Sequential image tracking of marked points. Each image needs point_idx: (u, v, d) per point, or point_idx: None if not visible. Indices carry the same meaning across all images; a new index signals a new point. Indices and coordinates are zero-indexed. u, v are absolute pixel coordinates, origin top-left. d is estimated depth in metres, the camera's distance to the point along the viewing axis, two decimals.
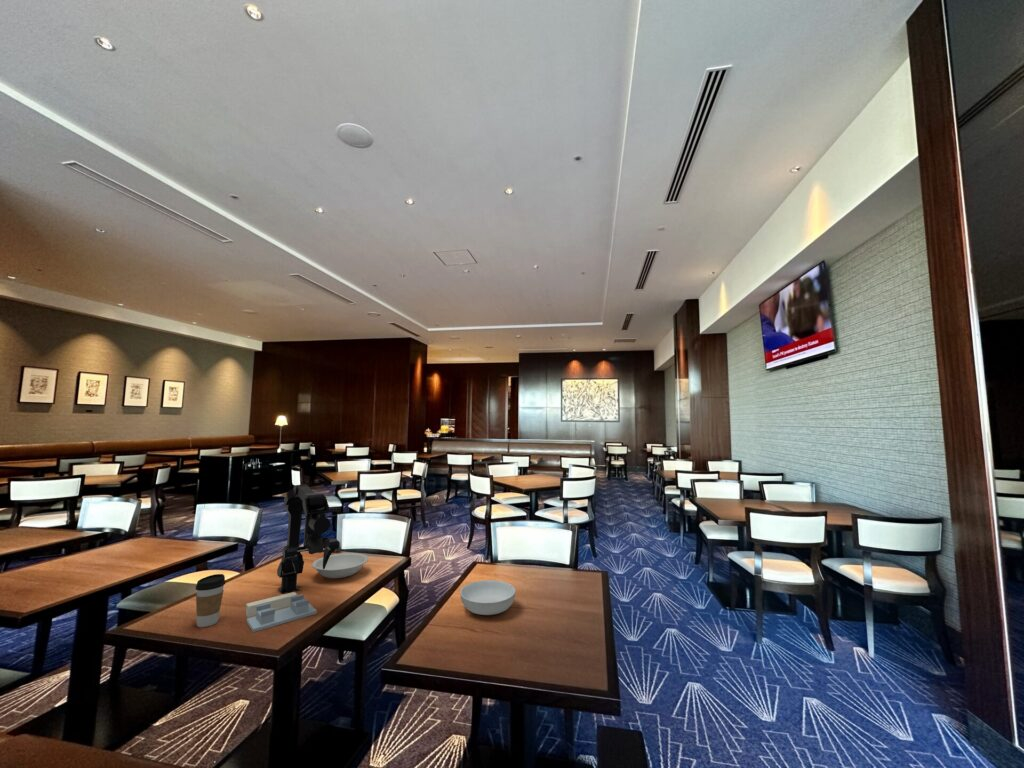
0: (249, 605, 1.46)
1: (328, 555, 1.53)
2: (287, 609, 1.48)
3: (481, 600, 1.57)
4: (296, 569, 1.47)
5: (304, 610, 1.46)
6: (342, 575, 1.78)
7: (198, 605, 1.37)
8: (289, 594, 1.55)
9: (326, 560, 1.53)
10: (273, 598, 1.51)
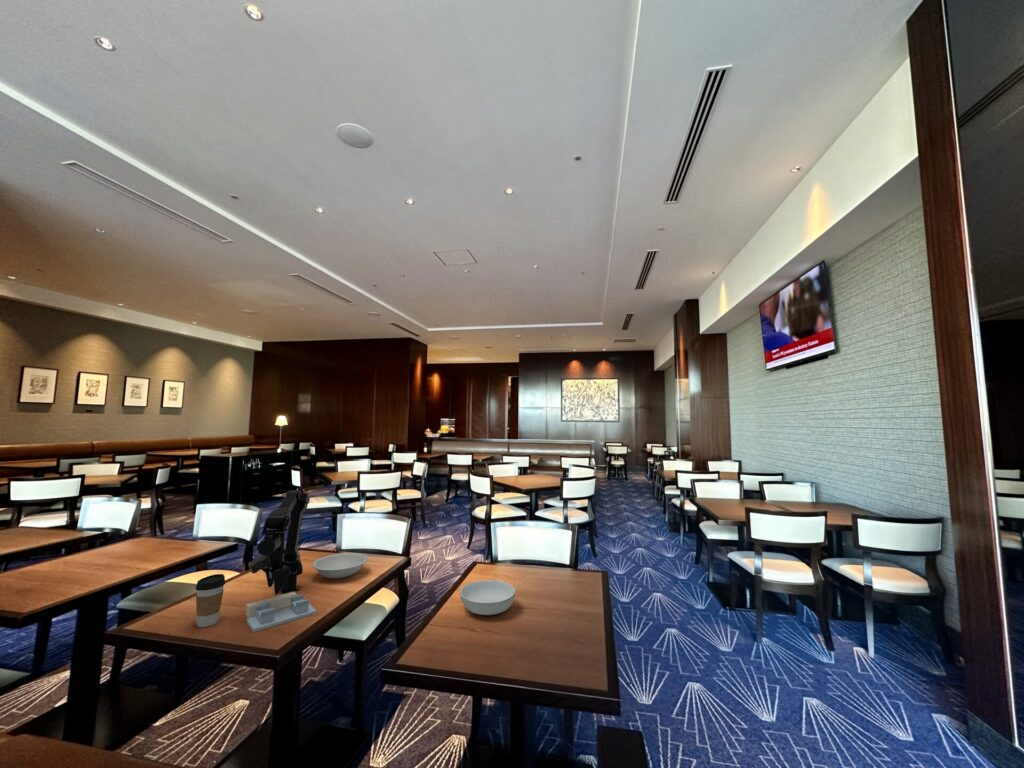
0: (249, 605, 1.45)
1: (273, 581, 1.47)
2: (287, 609, 1.48)
3: (481, 600, 1.57)
4: (267, 582, 1.55)
5: (304, 610, 1.46)
6: (342, 575, 1.78)
7: (198, 605, 1.37)
8: (289, 594, 1.55)
9: (274, 586, 1.47)
10: (273, 598, 1.51)
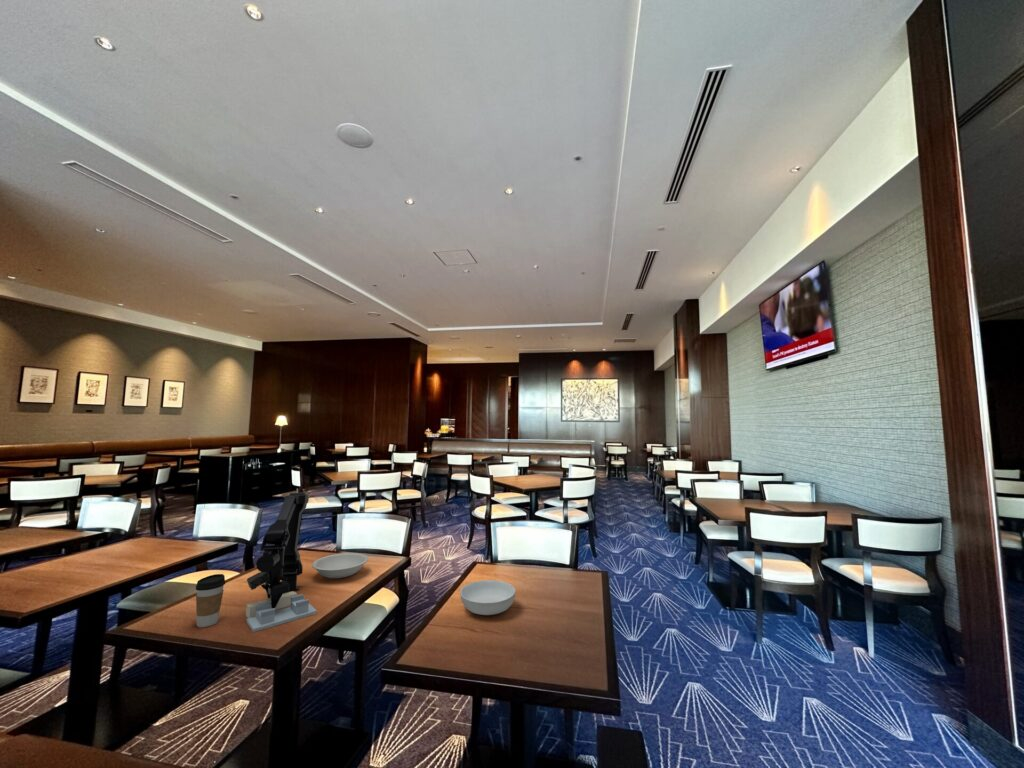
0: (250, 606, 1.45)
1: (270, 595, 1.48)
2: (287, 609, 1.48)
3: (481, 600, 1.57)
4: None
5: (304, 610, 1.46)
6: (342, 575, 1.78)
7: (198, 605, 1.37)
8: (288, 593, 1.56)
9: (271, 600, 1.49)
10: None
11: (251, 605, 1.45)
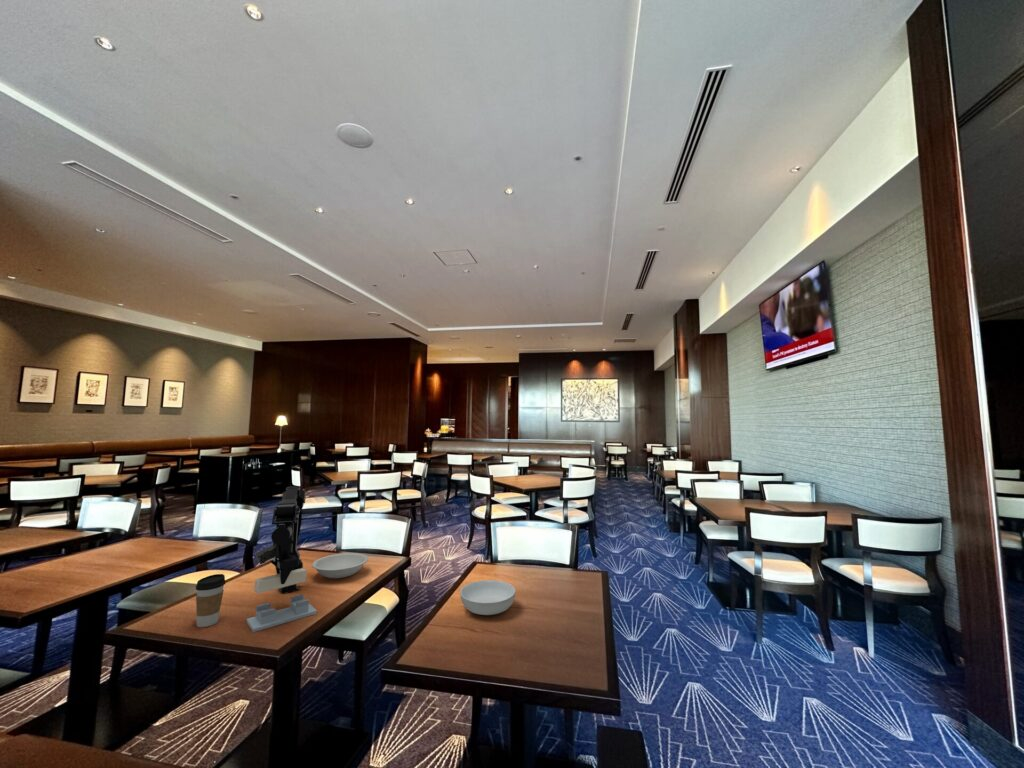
0: (259, 580, 1.41)
1: (279, 570, 1.44)
2: (287, 609, 1.48)
3: (481, 599, 1.57)
4: None
5: (304, 610, 1.46)
6: (342, 575, 1.78)
7: (198, 605, 1.37)
8: (298, 570, 1.51)
9: (280, 575, 1.44)
10: None
11: (260, 580, 1.41)
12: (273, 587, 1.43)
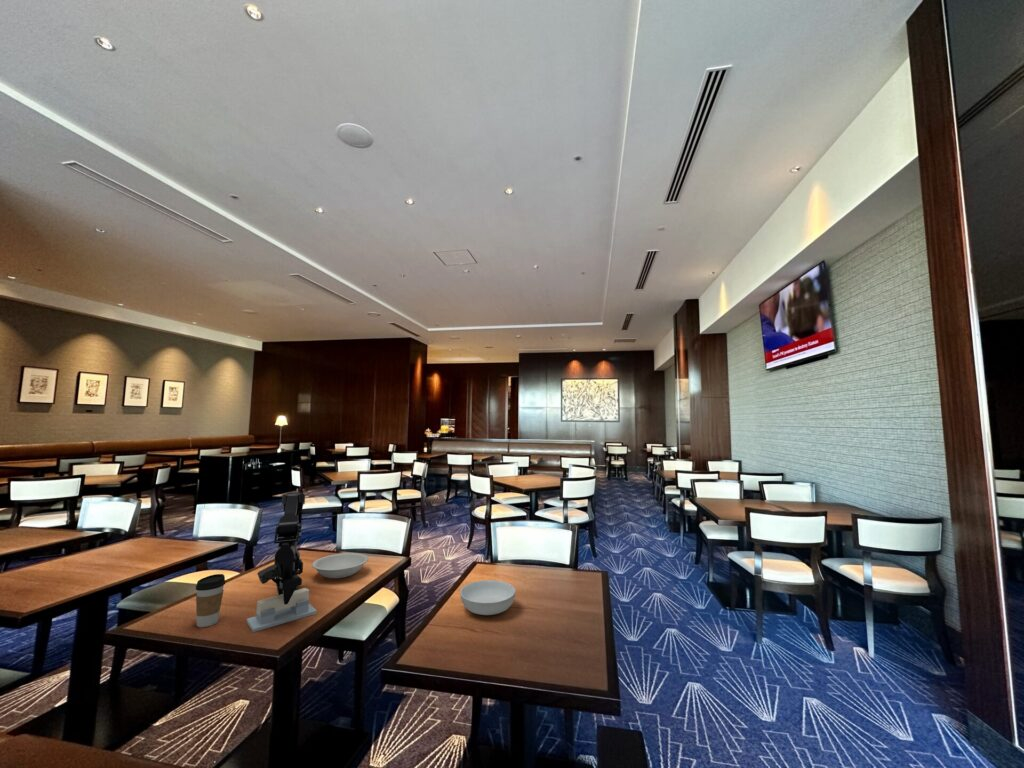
0: (261, 602, 1.39)
1: (282, 591, 1.41)
2: (287, 609, 1.48)
3: (481, 599, 1.57)
4: (278, 593, 1.47)
5: (304, 610, 1.46)
6: (342, 575, 1.78)
7: (198, 605, 1.37)
8: (300, 590, 1.50)
9: (283, 595, 1.42)
10: None
11: (262, 601, 1.40)
12: (275, 609, 1.41)
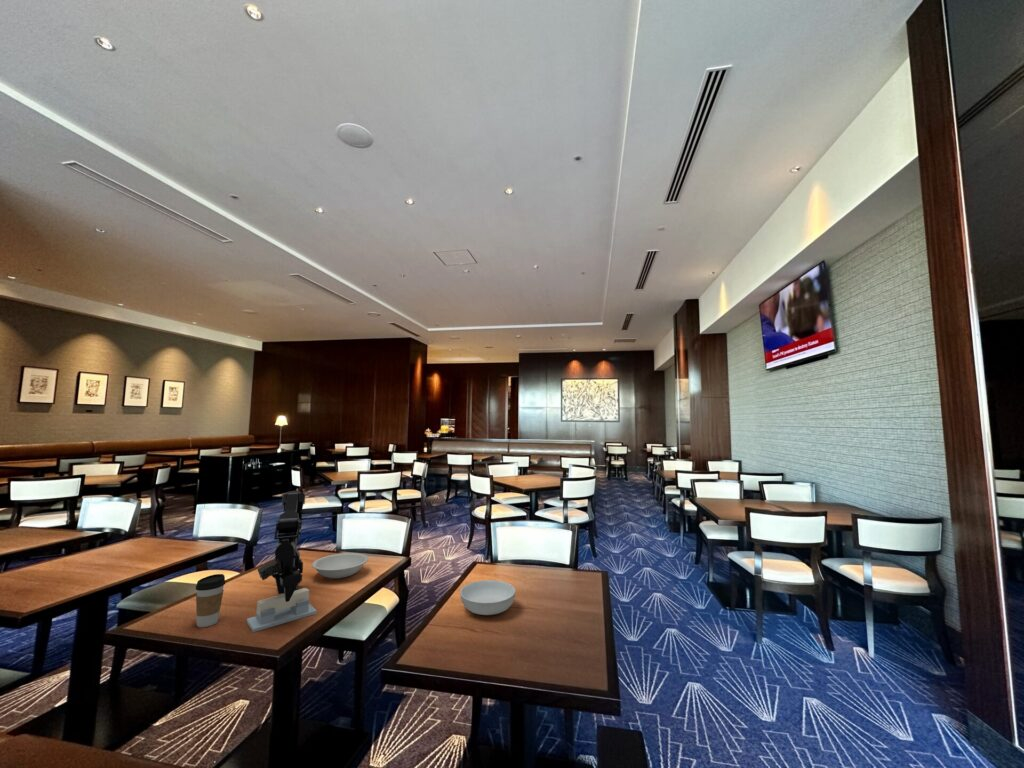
0: (261, 602, 1.39)
1: (284, 588, 1.40)
2: (287, 609, 1.48)
3: (481, 600, 1.57)
4: (277, 588, 1.48)
5: (304, 610, 1.46)
6: (342, 575, 1.78)
7: (198, 605, 1.37)
8: (300, 590, 1.50)
9: None
10: (284, 594, 1.46)
11: (262, 601, 1.40)
12: (275, 609, 1.41)
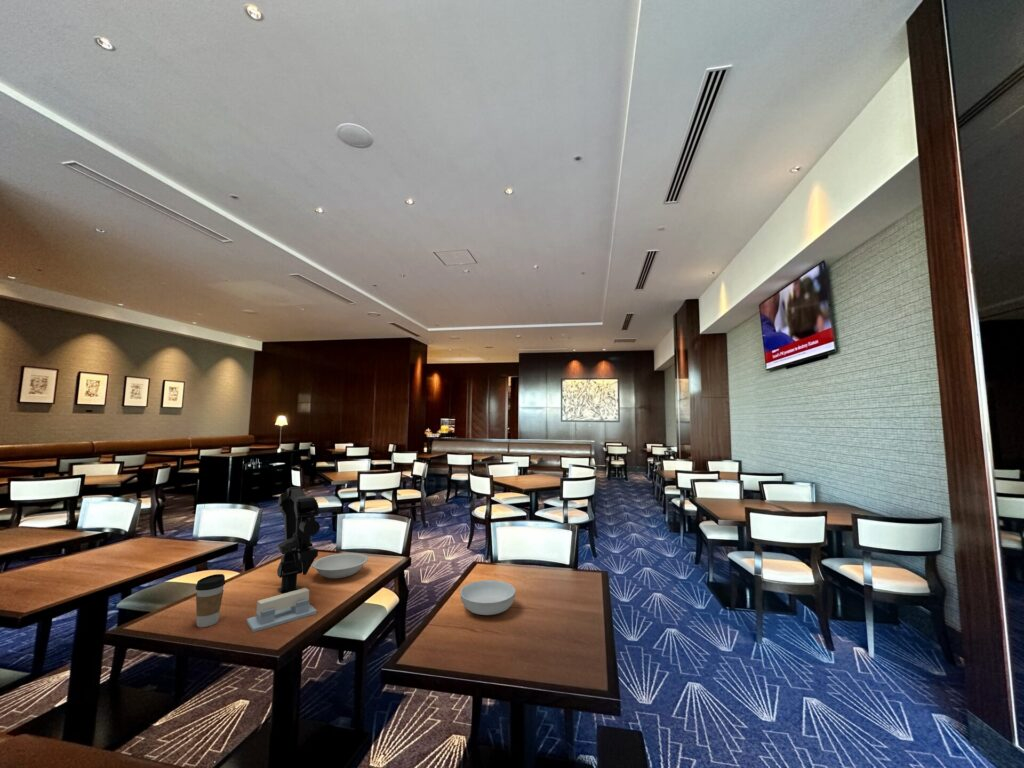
0: (261, 602, 1.39)
1: (301, 562, 1.53)
2: (287, 609, 1.48)
3: (481, 600, 1.57)
4: (295, 563, 1.61)
5: (304, 610, 1.46)
6: (342, 575, 1.78)
7: (198, 605, 1.37)
8: (300, 590, 1.50)
9: (302, 567, 1.54)
10: (284, 594, 1.46)
11: (262, 601, 1.40)
12: (275, 609, 1.41)
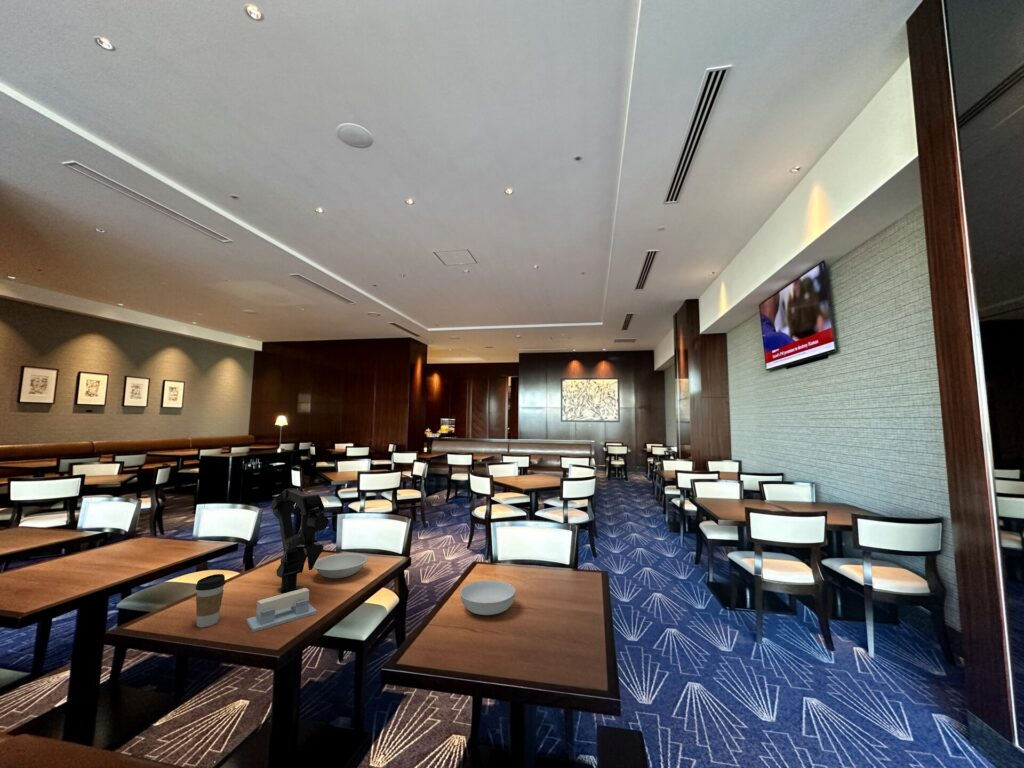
0: (261, 602, 1.39)
1: (307, 557, 1.57)
2: (287, 609, 1.48)
3: (481, 600, 1.57)
4: (300, 559, 1.65)
5: (304, 610, 1.46)
6: (342, 575, 1.78)
7: (198, 605, 1.37)
8: (300, 590, 1.50)
9: (308, 562, 1.58)
10: (284, 594, 1.46)
11: (262, 601, 1.40)
12: (275, 609, 1.41)
